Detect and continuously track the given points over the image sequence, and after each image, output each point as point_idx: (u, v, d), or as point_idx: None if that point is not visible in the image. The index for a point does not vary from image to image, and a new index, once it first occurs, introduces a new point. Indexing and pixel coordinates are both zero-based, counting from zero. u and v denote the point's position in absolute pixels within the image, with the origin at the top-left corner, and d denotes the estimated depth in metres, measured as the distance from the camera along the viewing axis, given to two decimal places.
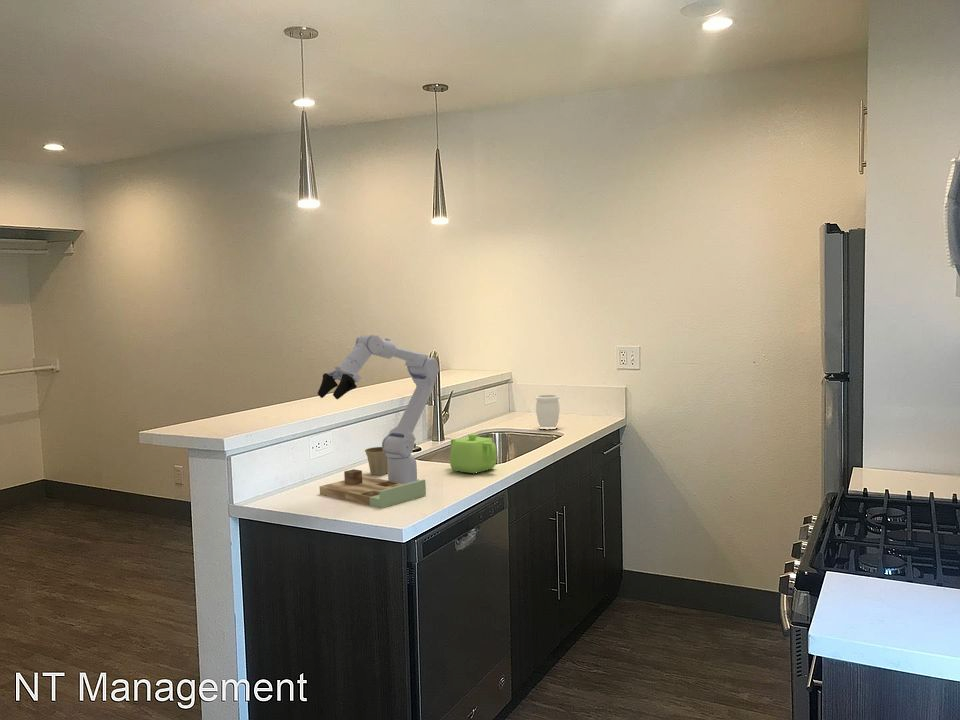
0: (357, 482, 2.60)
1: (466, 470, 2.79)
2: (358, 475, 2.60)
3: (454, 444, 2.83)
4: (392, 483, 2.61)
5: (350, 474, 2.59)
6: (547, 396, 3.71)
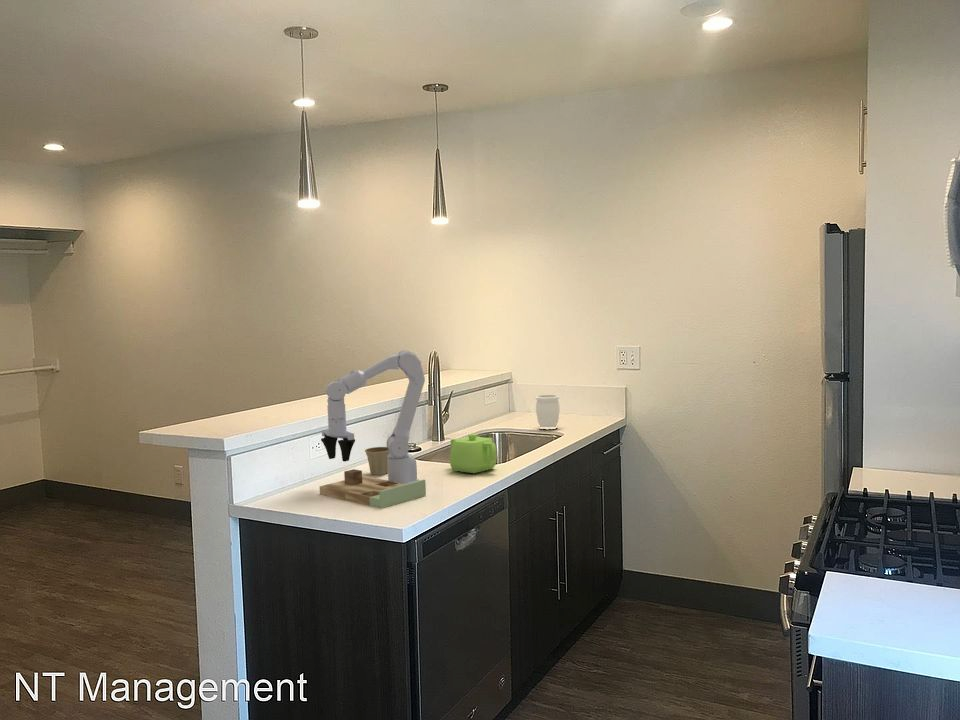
0: (357, 482, 2.60)
1: (466, 470, 2.79)
2: (358, 475, 2.60)
3: (454, 444, 2.83)
4: (392, 483, 2.61)
5: (350, 474, 2.59)
6: (547, 396, 3.71)
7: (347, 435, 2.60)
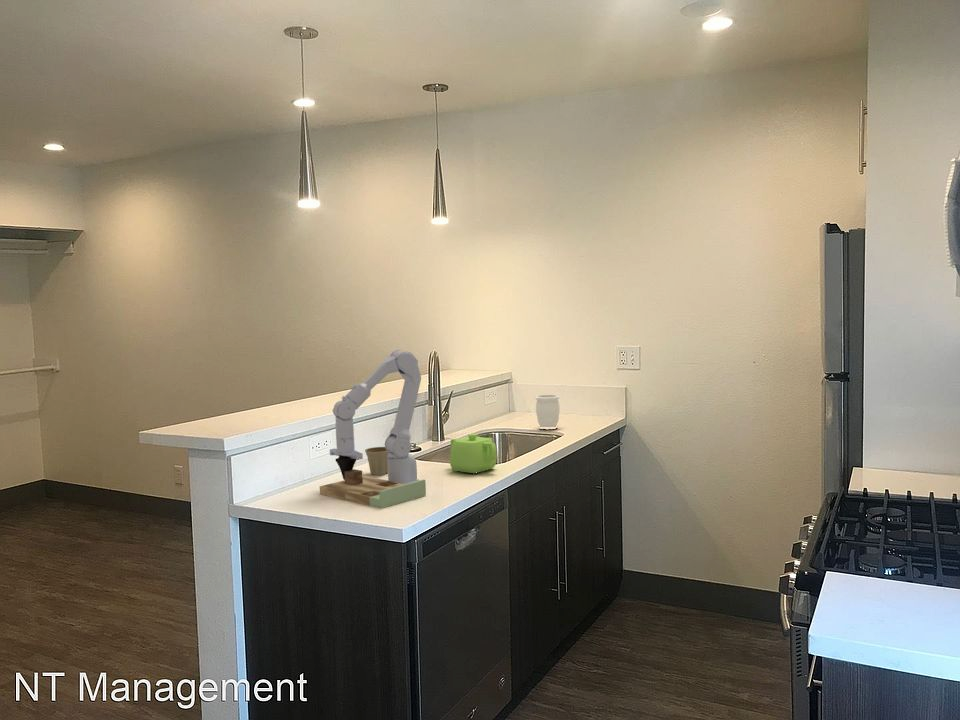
0: (357, 482, 2.60)
1: (466, 470, 2.79)
2: (358, 475, 2.60)
3: (454, 444, 2.83)
4: (392, 483, 2.61)
5: (350, 474, 2.59)
6: (547, 396, 3.71)
7: (355, 455, 2.58)
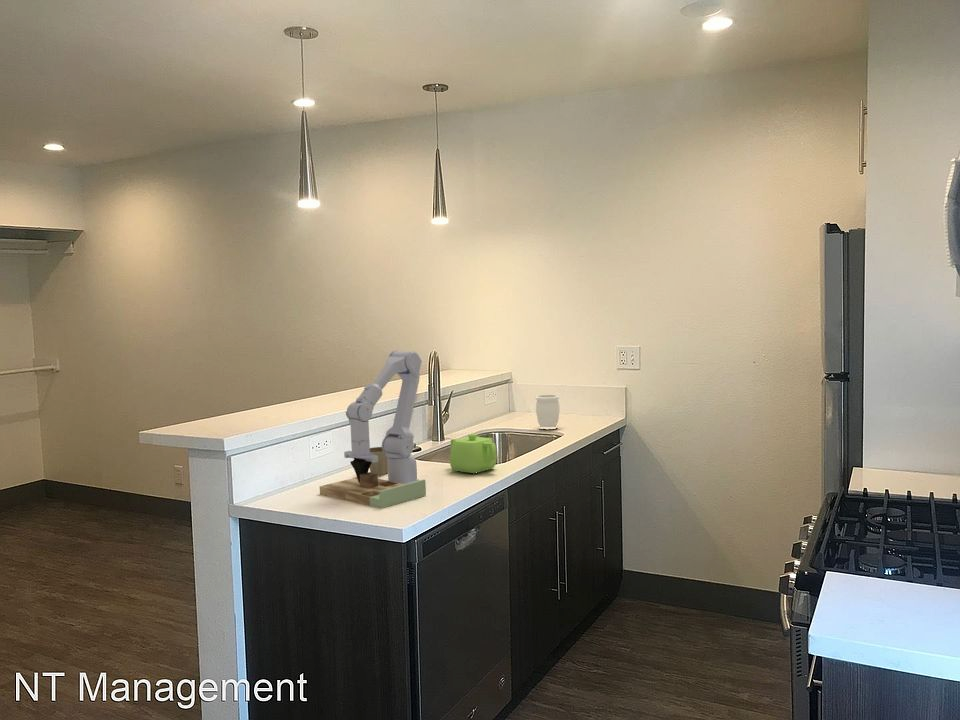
0: (373, 485, 2.55)
1: (466, 470, 2.79)
2: (374, 478, 2.55)
3: (454, 444, 2.83)
4: (392, 483, 2.61)
5: (366, 477, 2.53)
6: (547, 396, 3.71)
7: (371, 457, 2.53)
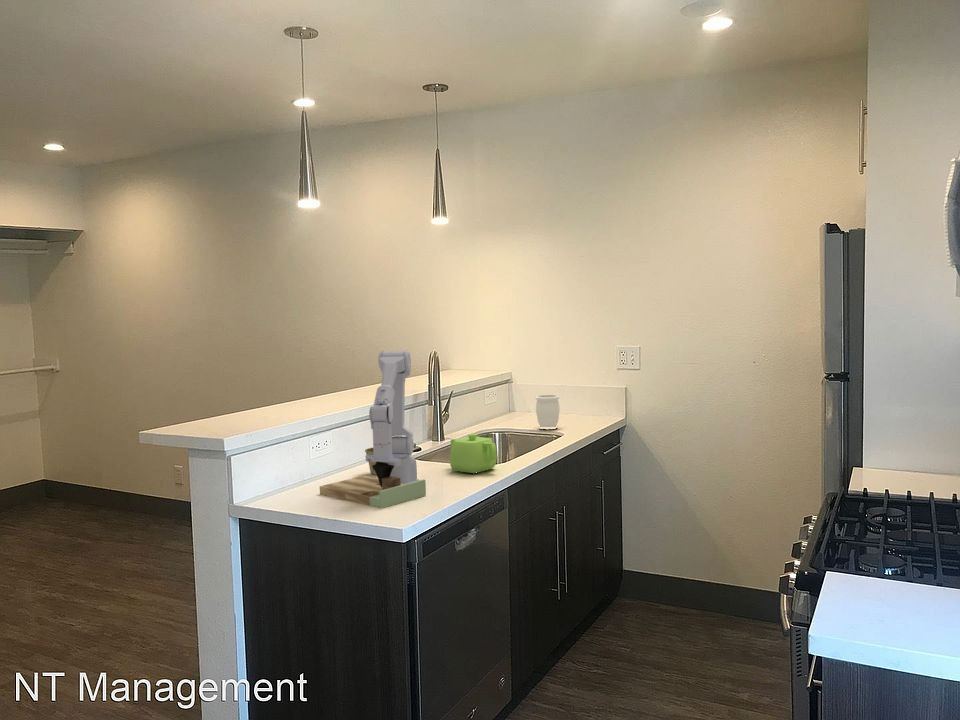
0: None
1: (466, 470, 2.79)
2: (397, 482, 2.48)
3: (454, 444, 2.83)
4: None
5: (388, 481, 2.46)
6: (547, 396, 3.71)
7: (394, 461, 2.45)
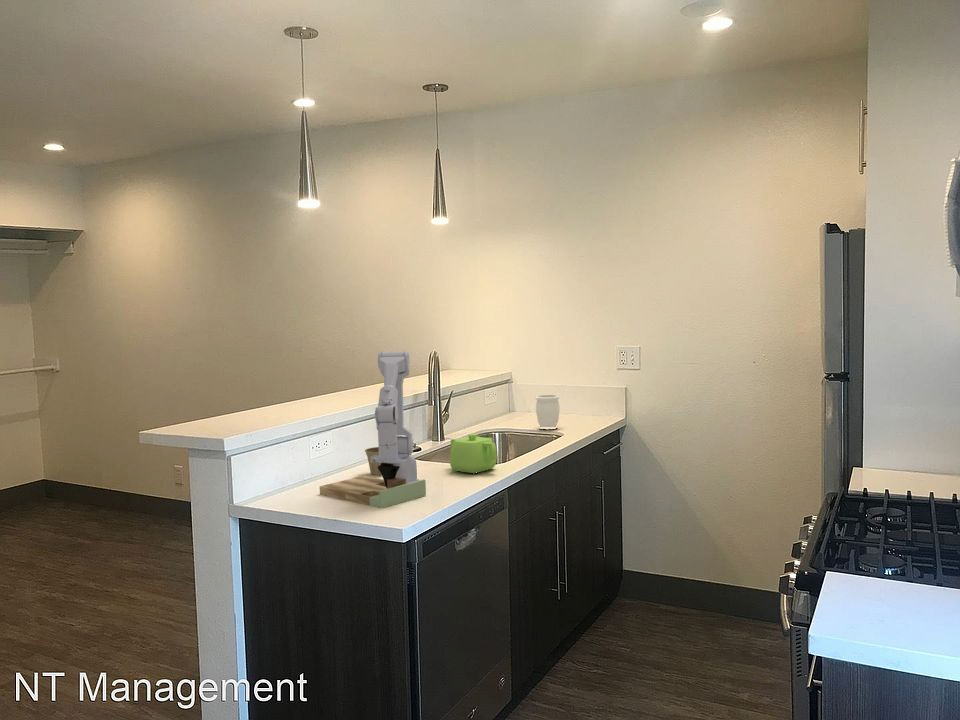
0: None
1: (466, 470, 2.79)
2: (402, 484, 2.46)
3: (454, 444, 2.83)
4: None
5: (394, 483, 2.45)
6: (547, 396, 3.71)
7: (400, 462, 2.44)
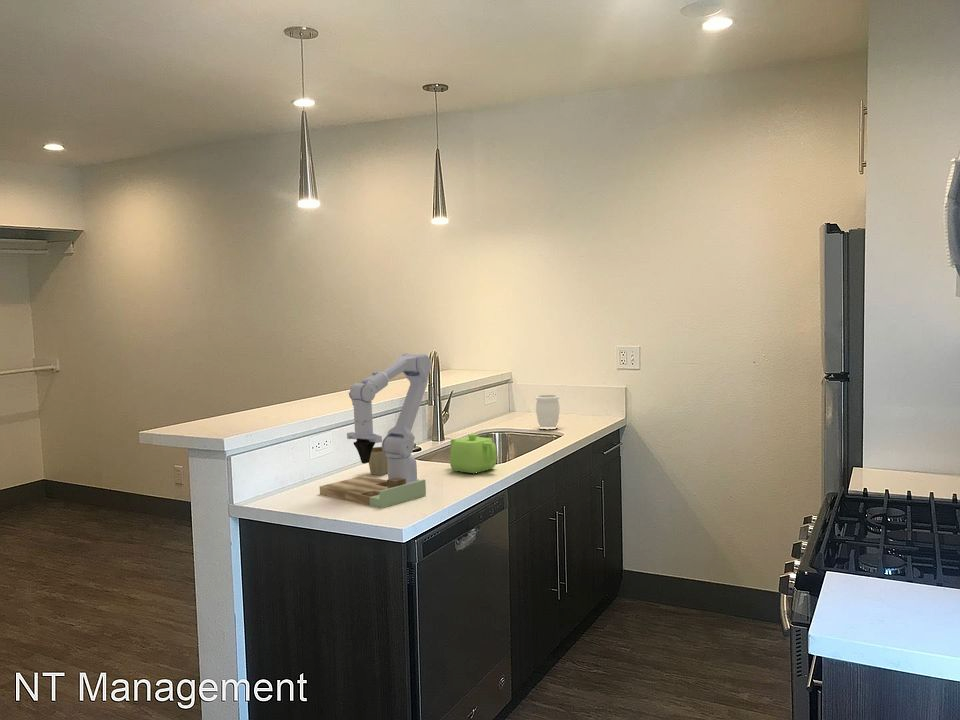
0: None
1: (466, 470, 2.79)
2: (402, 484, 2.46)
3: (454, 444, 2.83)
4: None
5: (394, 483, 2.45)
6: (547, 396, 3.71)
7: (375, 438, 2.53)
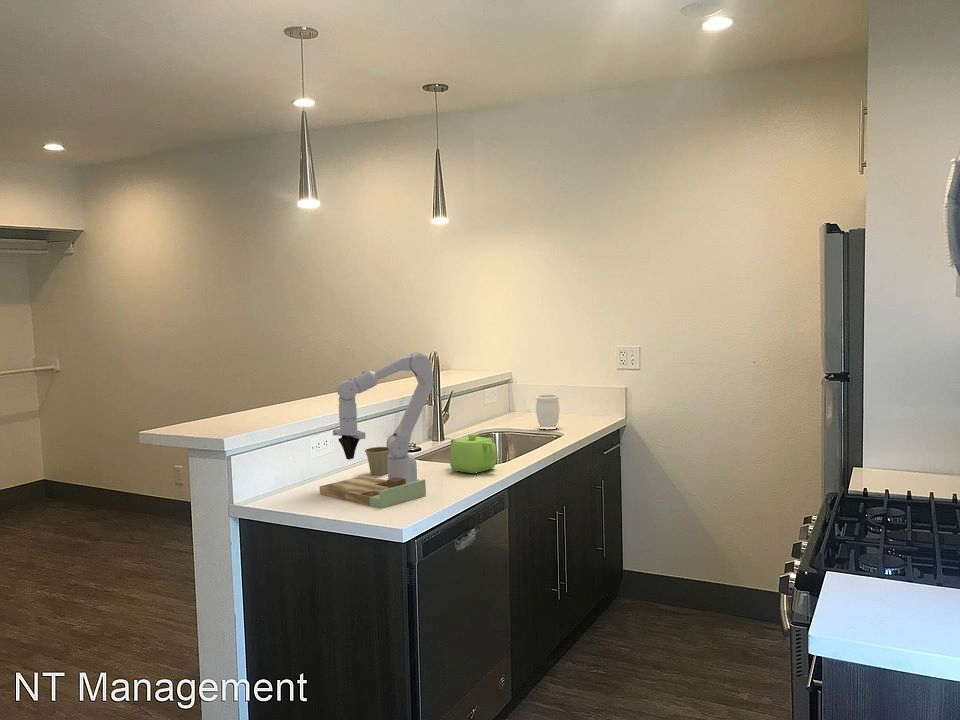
0: None
1: (466, 470, 2.79)
2: (402, 484, 2.46)
3: (454, 444, 2.83)
4: None
5: (394, 483, 2.45)
6: (547, 396, 3.71)
7: (358, 434, 2.61)
